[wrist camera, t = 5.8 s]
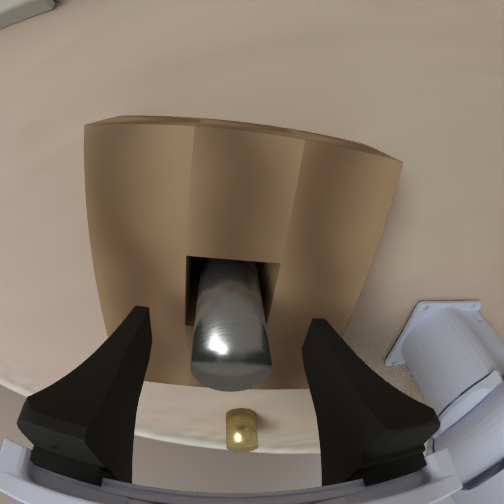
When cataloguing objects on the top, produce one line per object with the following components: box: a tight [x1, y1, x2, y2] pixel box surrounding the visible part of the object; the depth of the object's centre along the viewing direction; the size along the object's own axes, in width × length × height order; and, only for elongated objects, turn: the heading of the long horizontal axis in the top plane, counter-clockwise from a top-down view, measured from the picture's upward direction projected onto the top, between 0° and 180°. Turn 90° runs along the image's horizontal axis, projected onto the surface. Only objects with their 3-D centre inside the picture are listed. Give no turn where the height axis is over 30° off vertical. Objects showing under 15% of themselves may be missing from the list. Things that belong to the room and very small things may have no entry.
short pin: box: [226, 408, 258, 452], centre depth 27 cm, size 3×3×4 cm
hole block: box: [84, 116, 403, 389], centre depth 17 cm, size 14×16×4 cm
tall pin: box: [190, 257, 272, 391], centre depth 15 cm, size 3×3×9 cm
